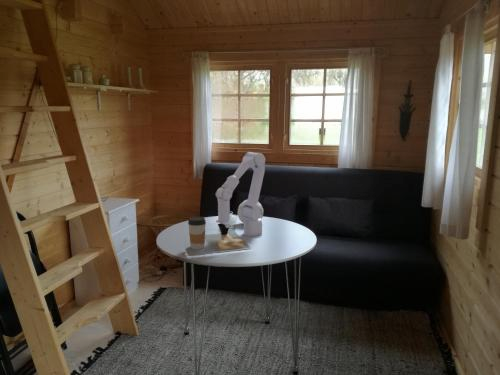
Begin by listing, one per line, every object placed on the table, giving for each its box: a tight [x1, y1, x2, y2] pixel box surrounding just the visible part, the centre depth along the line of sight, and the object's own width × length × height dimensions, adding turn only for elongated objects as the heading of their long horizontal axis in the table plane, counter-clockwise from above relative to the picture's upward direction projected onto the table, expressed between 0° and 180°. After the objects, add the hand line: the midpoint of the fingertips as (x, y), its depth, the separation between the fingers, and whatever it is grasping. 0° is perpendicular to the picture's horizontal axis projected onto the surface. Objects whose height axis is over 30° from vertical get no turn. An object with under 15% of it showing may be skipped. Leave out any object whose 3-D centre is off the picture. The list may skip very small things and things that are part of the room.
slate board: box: [205, 231, 251, 254], centre depth 200 cm, size 18×26×1 cm
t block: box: [217, 234, 244, 249], centre depth 195 cm, size 12×12×3 cm
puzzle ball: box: [237, 199, 264, 224], centre depth 232 cm, size 15×15×15 cm
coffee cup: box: [187, 216, 207, 250], centre depth 190 cm, size 8×8×15 cm
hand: (224, 237), depth 202 cm, fingers closed
